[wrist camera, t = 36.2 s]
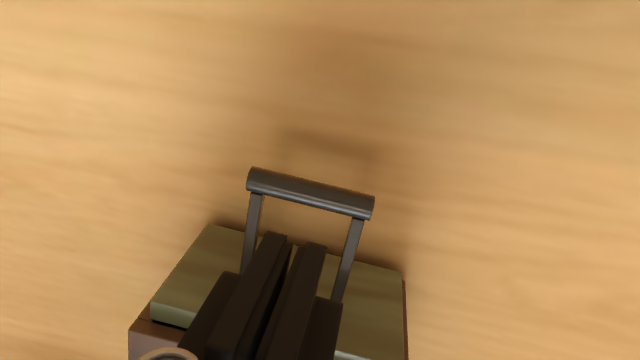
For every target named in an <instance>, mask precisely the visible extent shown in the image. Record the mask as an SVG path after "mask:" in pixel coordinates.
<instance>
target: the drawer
mask: <svg viewBox="0 0 640 360" xmlns="http://www.w3.org/2000/svg"><path fill="white" fill-rule="evenodd" d="M246 190H247V191H251V194H250V201H249V208H248V215H247V222H246V229H245V232H241V231H237V230H233V229H229V228H225V227H221V226H217V225H213V224H209V223H208V224H207V226H206V227H205V228H204V230H203V231H202V232H201V234H200V235H199V236H198V238H197V239H196V240H195V242H194V243H193V244H192V246H191V247H190V249H189V250H188V251H187V253H186V254H185V255H184V257H183V258H182V259H181V261H180V262H179V263H178V265H177V266H176V267H175V269H174V270H173V271H172V273H171V274H170V275H169V277H168V278H167V279H166V281H165V282H164V283H163V285H162V286H161V287H160V289H159V290H158V291H157V293H156V294H155V295H154V297H153V298H152V299H151V301H150V319H153V320H157V321H160V322H164V323H168V324H172V325H173V327H172V328H175V329H179V330H182V331H187V329H188V327H189V326H190V324H191V322H192V321H193V319H194V318H195V316H196V314H197V313H198V311H199V309H200V308H201V306H202V305H203V303H204V301H205V300H206V298H207V296H208V295H209V293H210V292H211V290H212V288H213V287H214V285H215V283H216V282H217V280H218V278H219V277H220V275H221V274H222V273H223V272H224V271H225V270H226V271H230V272H233V273H237V274H240V275H243V274H244V272H245V270H246V268H247V266H248V265H249V263H250V261H251V259H252V257H253V255H254V253H255V252H256V250H257V248H258V246H259V244H260V242H261V240H262V239H263V237H260V236H258V233H259V227H260V221H261V215H262V208H263V202H264V196H265V195H267V196H271V197H275V198H279V199H283V200H287V201H291V202H295V203H299V204H303V205H307V206H311V207H315V208H319V209H323V210H327V211H331V212H335V213H339V214H343V215H347V216H351V217H352V219H351V223H350V227H349V230H348V234H347V238H346V241H345V245H344V249H343V253H342V256H341V257H339V256H335V255H331V254H327V253H326V257H325V261H324V265H323V269H322V273H321V277H320V281H319V285H318V289H317V293H316V296H319V297H323V298H326V299H330V300H334V301H337V302H341V303H343V311H342V316H341V321H340V327H339V332H338V337H337V343H336V348H335V353H334V359H333V360H404V335H403V305H402V275H401V272H398V271H394V270H390V269H386V268H382V267H378V266H374V265H370V264H366V263H362V262H358V261H354V257H355V253H356V250H357V246H358V243H359V239H360V236H361V232H362V229H363V225H364V221H365V220H367V221H369V220H370V218H371V215H372V212H373V208H374V203H375V196H372V195H368V194H364V193H360V192H356V191H352V190H348V189H344V188H340V187H336V186H332V185H328V184H324V183H320V182H315V181H311V180H307V179H303V178H299V177H295V176H291V175H287V174H283V173H279V172H275V171H271V170H267V169H263V168H259V167H255V166H252V167H251V169H250V171H249V173H248V177H247V181H246ZM297 249H298V246H296V245H293V249H292V254H291V259H290V264H289V269H290V267H291V264H292V262H293V259H294V256H295V254H296V251H297ZM289 269H288V272H289Z"/></svg>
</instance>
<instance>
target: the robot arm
mask: <svg viewBox="0 0 640 360" xmlns="http://www.w3.org/2000/svg"><path fill="white" fill-rule="evenodd" d="M292 249H293V243H292V242H288V241H287V235H283V234H279V233H276V232H272V231H267V232H266V233H265V235H264V237H263V239H262V240H261V242H260V244H259V246H258V248H257V250H256V252H255V253H254V255H253V257H252V259H251V261H250V263H249V265H248V266H247V268H246V270H245V272H244V274H243V275H240V274H237V273H233V272H230V271H226V270H225V271H224V272H223V273H222V274H221V275H220V277H219V278H218V280H217V282H216V283H215V285H214V287H213V288H212V290H211V292H210V293H209V295H208V296H207V298H206V300H205V301H204V303H203V305H202V306H201V308H200V309H199V311H198V313H197V314H196V316H195V318H194V319H193V321H192V322H191V324H190V326H189V327H188V329H187V331H186V332H185V334H184V335H183V337H182V339H181V340H180V342H179V344H178V345H177V347H163V348H159V349H154V350H152V351H150V352H148V353H146V354H144V355H143V356H141V357H140V358H139V359H138V360H333V359H334V353H335V348H336V343H337V337H338V332H339V327H340V321H341V316H342V311H343V303H341V302H337V301H334V300H330V299H326V298H323V297H319V296H316V293H317V289H318V285H319V281H320V277H321V273H322V269H323V265H324V261H325V257H326V253H327V249H328V247H327V246H324V245H320V244H316V243H313V242H308V244H307V246H303V245H299V246H298V249H297V251H296V254H295V256H294V259H293V262H292V264H291V267H290V269H289V264H290V259H291V254H292ZM288 269H289V272H288Z"/></svg>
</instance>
